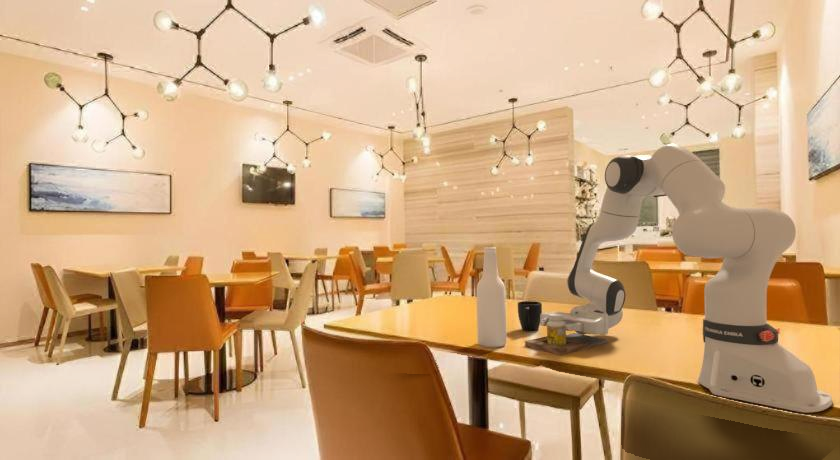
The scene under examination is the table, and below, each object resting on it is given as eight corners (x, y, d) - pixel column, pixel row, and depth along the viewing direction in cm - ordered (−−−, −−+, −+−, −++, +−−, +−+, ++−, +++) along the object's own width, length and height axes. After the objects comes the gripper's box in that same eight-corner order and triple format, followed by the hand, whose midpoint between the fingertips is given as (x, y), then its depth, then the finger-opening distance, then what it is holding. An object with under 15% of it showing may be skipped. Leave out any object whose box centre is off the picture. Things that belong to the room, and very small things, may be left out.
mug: (513, 333, 154) (512, 305, 154) (520, 326, 165) (520, 300, 165) (538, 335, 150) (537, 306, 150) (544, 328, 161) (543, 301, 161)
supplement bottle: (569, 348, 133) (569, 315, 134) (554, 350, 132) (553, 317, 132) (559, 344, 139) (558, 312, 139) (543, 345, 137) (543, 313, 137)
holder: (589, 347, 134) (589, 342, 134) (560, 355, 126) (560, 349, 126) (553, 339, 144) (553, 334, 144) (525, 346, 137) (525, 341, 137)
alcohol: (476, 347, 136) (473, 248, 137) (479, 340, 145) (477, 246, 145) (505, 348, 134) (503, 247, 134) (507, 341, 143) (505, 246, 143)
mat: (607, 342, 140) (607, 339, 140) (589, 346, 134) (589, 344, 134) (575, 335, 149) (574, 332, 149) (557, 339, 144) (556, 336, 144)
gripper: (556, 305, 151) (527, 310, 143) (612, 313, 134) (583, 319, 126) (556, 324, 151) (528, 330, 143) (612, 335, 134) (583, 342, 126)
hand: (554, 325), depth 135 cm, fingers open, 8 cm apart
